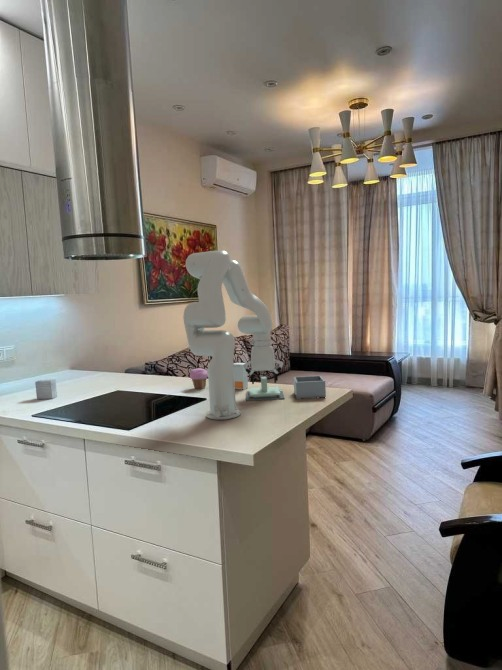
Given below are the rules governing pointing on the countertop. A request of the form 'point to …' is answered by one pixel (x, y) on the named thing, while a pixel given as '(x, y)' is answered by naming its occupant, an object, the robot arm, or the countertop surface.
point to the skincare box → (240, 376)
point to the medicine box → (46, 389)
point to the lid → (264, 390)
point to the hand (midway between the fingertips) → (264, 382)
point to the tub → (309, 387)
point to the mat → (264, 397)
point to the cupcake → (199, 378)
